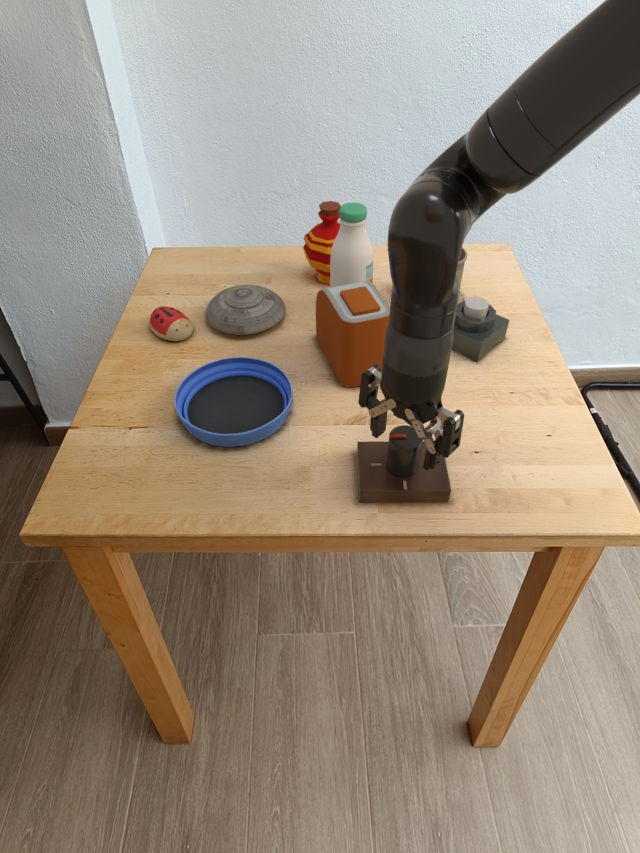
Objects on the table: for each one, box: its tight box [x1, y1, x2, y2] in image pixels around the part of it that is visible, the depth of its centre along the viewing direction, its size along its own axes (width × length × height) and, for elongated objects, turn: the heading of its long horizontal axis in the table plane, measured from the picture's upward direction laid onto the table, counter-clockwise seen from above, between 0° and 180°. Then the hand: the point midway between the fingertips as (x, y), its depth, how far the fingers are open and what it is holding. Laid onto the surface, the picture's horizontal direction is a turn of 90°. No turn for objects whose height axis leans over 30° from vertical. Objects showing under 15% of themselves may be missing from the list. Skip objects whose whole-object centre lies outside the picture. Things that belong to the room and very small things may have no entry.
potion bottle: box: [302, 200, 342, 285], centre depth 114 cm, size 10×10×15 cm
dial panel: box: [356, 440, 452, 503], centre depth 80 cm, size 12×9×3 cm
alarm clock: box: [315, 281, 390, 388], centre depth 95 cm, size 15×8×14 cm, turn 18°
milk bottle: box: [329, 202, 374, 288], centre depth 104 cm, size 8×8×20 cm
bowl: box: [173, 356, 294, 448], centre depth 90 cm, size 18×18×4 cm
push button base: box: [452, 300, 510, 363], centre depth 101 cm, size 9×9×6 cm
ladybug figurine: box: [149, 305, 194, 342], centre depth 106 cm, size 7×10×4 cm
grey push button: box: [463, 296, 490, 319], centre depth 99 cm, size 4×4×2 cm
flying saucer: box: [204, 284, 287, 336], centre depth 108 cm, size 15×15×6 cm
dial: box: [386, 424, 423, 477], centre depth 78 cm, size 4×4×6 cm
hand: (403, 449), depth 77 cm, fingers open, 8 cm apart
